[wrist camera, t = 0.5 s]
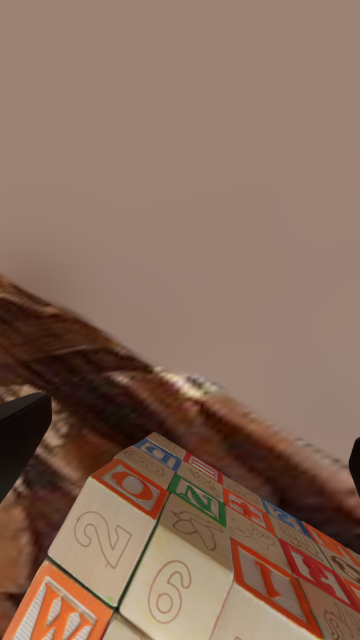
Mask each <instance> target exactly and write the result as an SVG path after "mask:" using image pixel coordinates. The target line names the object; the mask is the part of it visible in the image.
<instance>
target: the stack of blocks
mask: <svg viewBox="0 0 360 640" xmlns="http://www.w3.org/2000/svg"><path fill="white" fill-rule="evenodd" d="M48 555H49V556H48V557H47V558H46V559H45V560H44V562H43V563H42V565H41V567H40V568H39V570H38V572H37V573H36V575H35V577H34V579H33V581H32V583H31V585H30V587H29V588H28V590H27V592H26V594H25V596H24V598H23V600H22V602H21V603H20V605H19V607H18V609H17V611H16V613H15V615H14V617H13V619H12V621H11V622H10V624H9V626H8V628H7V630H6V632H5V634H4V636H3V638H2V640H360V555H358V554H357V553H355V552H353V551H351V550H350V549H348V548H346V547H344V546H343V545H341V544H340V543H338V542H337V541H335V540H334V539H332V538H330V537H329V536H327V535H325V534H324V533H322V532H320V531H319V530H317V529H315V528H314V527H312V526H310V525H309V524H307V523H305V522H304V521H299V520H298V519H296V518H295V517H293V516H291V515H290V514H288V513H286V512H285V511H283V510H281V509H280V508H278V507H276V506H275V505H273V504H272V503H270V502H268V501H267V500H265V499H263V498H261V497H259V496H257V495H256V494H254V493H253V492H251V491H249V490H248V489H246V488H244V487H243V486H241V485H239V484H238V483H236V482H234V481H233V480H231V479H229V478H228V477H226V476H224V475H223V474H222V473H221V472H220V471H218V470H216V469H215V468H213V467H211V466H210V465H208V464H206V463H205V462H203V461H201V460H200V459H198V458H197V457H195V456H193V455H192V454H190V453H188V452H186V451H185V450H184V449H182V448H181V447H179V446H177V445H176V444H174V443H173V442H171V441H169V440H168V439H166V438H164V437H163V436H161V435H159V434H158V433H156V432H153V433H151V434H150V435H148V436H147V437H145V439H143V440H141V441H140V442H138V443H137V444H135V445H133V446H130V447H128V448H126V449H125V450H123V451H122V452H120V453H118V454H117V455H115V456H114V458H113V459H112V461H111V462H109V463H108V464H106V465H105V466H103V467H102V468H100V469H99V470H97V471H96V472H94V473H93V474H91V475H90V476H89V477H88V479H87V480H86V482H85V484H84V486H83V488H82V490H81V492H80V494H79V495H78V497H77V499H76V501H75V503H74V505H73V506H72V508H71V510H70V512H69V514H68V516H67V517H66V519H65V521H64V523H63V525H62V527H61V528H60V530H59V532H58V534H57V536H56V537H55V539H54V541H53V543H52V545H51V546H50V548H49V550H48Z"/></svg>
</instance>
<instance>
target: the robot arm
mask: <svg viewBox="0 0 360 640" xmlns="http://www.w3.org/2000/svg"><path fill="white" fill-rule="evenodd" d="M51 421H52V402H51V396H50V395H49V394H47V393H40V392H35V393H32V394H29V395H26V396H23V397H20V398H18V399H15V400H12V401H9V402H6V403H3V404H0V504H1V502H2V501H3V499H4V498H5V497H6V495H7V494H8V492H9V491H10V490H11V488H12V487H13V485H14V484H15V483H16V481H17V480H18V478H19V477H20V475H21V474H22V472H23V471H24V469H25V468H26V466H27V464H28V463H29V461H30V459H31V457H32V456H33V454H34V452H35V451H36V449H37V447H38V445H39V444H40V442H41V440H42V438H43V437H44V435H45V433H46V432H47V430H48V428H49V426H50V424H51ZM349 470H350V473H351V476H352V478H353V481H354V484H355V486H356V489H357V492H358V495H359V497H360V437H359V438H357V439H356V440H355V443H354V446H353V449H352V452H351V456H350V459H349Z"/></svg>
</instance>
